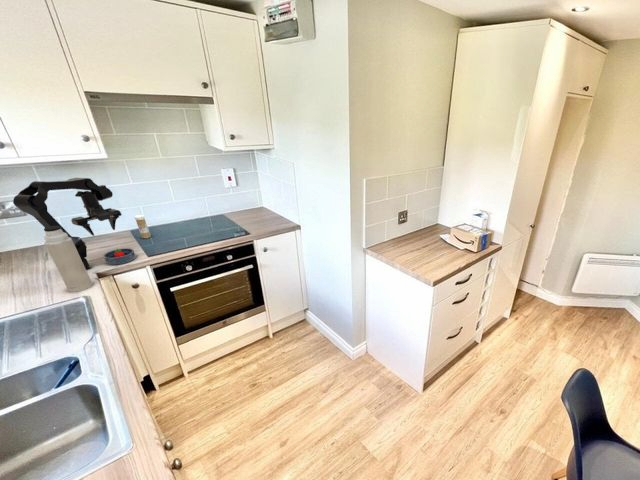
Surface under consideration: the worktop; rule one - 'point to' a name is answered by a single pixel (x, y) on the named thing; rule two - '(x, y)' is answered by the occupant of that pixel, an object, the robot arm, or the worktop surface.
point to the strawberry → (119, 253)
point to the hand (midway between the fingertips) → (103, 232)
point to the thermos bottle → (66, 259)
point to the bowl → (112, 260)
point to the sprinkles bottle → (142, 226)
